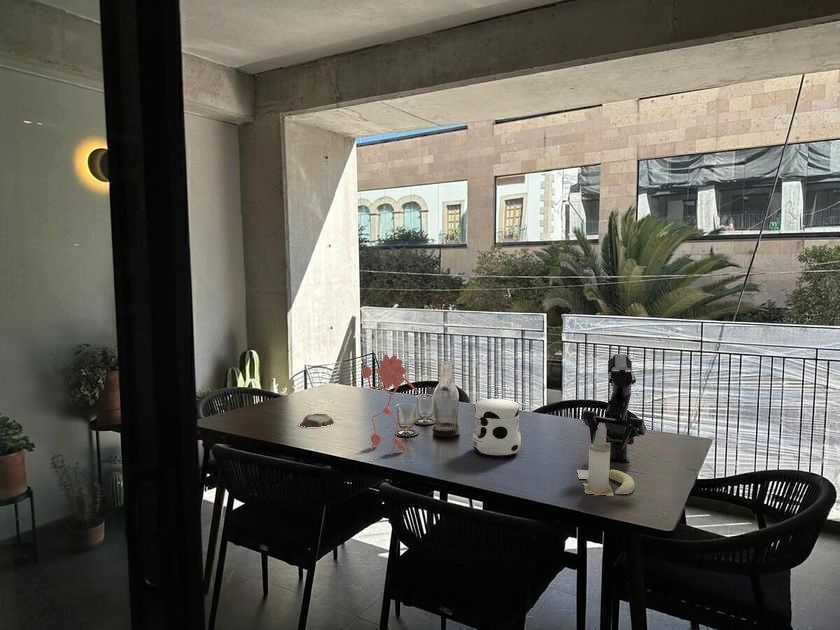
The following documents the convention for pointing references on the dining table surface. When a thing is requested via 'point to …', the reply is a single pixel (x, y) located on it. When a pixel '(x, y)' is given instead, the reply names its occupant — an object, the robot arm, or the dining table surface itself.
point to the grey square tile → (582, 474)
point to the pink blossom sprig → (389, 375)
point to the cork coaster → (587, 491)
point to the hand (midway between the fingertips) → (606, 446)
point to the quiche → (317, 420)
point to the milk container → (496, 428)
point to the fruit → (622, 481)
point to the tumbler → (599, 468)
